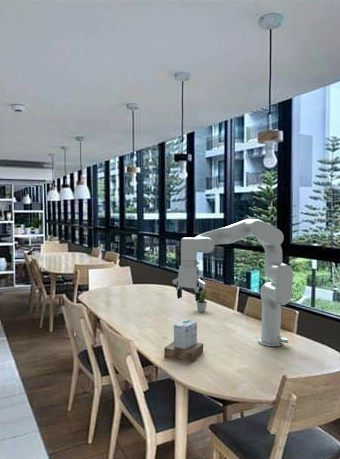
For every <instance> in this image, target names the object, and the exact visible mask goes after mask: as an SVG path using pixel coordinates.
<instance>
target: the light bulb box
mask: <svg viewBox="0 0 340 459" xmlns="http://www.w3.org/2000/svg"><path fill="white" fill-rule="evenodd" d="M197 339H198V322H197V321H195V320H189V319H185V320H182V321H180V322H178V323H174V324H173V341H174V347H176V348H180V349H184V350H185V349H187V348H189V347H191V346H193V345H195V344H197V343H198V340H197Z"/></svg>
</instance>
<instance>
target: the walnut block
mask: <svg viewBox="0 0 340 459" xmlns="http://www.w3.org/2000/svg"><path fill="white" fill-rule="evenodd" d="M163 350H164V353H163V355H164V356H163V357H164V358H165V357H166V358H165V359H171V360H177V361H182V362H185V363H194V362H195V361H196V360H197V359H198V358H199V357H200V356H201V355H202V354H203V353H204V343H202V342H197V344H195V345H193V346H191V347H189V348H187V349H185V350H184V349H180V348H176V347H174V340H172V342H171V343H169V344H168V345H166V346H165V347H164V348H163Z"/></svg>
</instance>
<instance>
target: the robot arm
mask: <svg viewBox="0 0 340 459" xmlns="http://www.w3.org/2000/svg"><path fill="white" fill-rule="evenodd" d="M248 237H255V238H256V240H257V242H258V243H259V244H260V245H261V246H262V247H263V250H264V255H265V256H264V257H265V259H264V275H265V277H266V278H267V279H268V280H270V281H268V282H265V283H263V284H262V285H261V288H260V298H261V330H260V331H261V332H260V333H261V334H260V335H261V336H260V337H259V338H258V339H257V342H258V344H260V345H262V346H265V345H266V346H265V347H270V346H278V347H280V346H279V345H281V346H283V345H284V344H289V338H287V337H283V336H282V335H283V334H282V333H281V323H282V322H281V320H282V316H281V315H282V310H281V309H282V308H281V306H285V305H287V304H289V302H290V301H291V299H292V296H293V285H294V273H293V269H292V268H291V267H290V265H288V264H286V263H283V249H282V246H281V245H282V243H283V242H284V239H285V238H284V233H283V232H282V230H280V229H279V228H277V227H275V226H273V225H271V224H269V223H267V222H265V221H263V220H260V219H259V218H257V219H256V218H246V219H243V220H240V221H238V222H236V223H233V224H230V225H228V226H227V225H226V226H225V227H220V228H217V229H213V230H210V231H206V232H203V233H201V234H197V235H196V236H195V237H193V236H192V237H190V236H189V237H182V238H181V240H180V265H179V269H178V273H177V274H178V275H177V277H176V278H175V279H174V278H173V280H172V284H173V287H174V288H175V290H176V296H177V299H178V300H179V299H181V298H183V290H182V288H188V289H193V290H194V289H195V290H196V291H195V290H194V291H195V292H196V295H194V296H195V297H194V299H195V302H197V301H199V300H200V297H201V291H202V292H203V290H205V289H204V288H205V287H206V283H205V282H204V281H203V280H201V273H200V268H199V264H200V261H198V259H197V258H198V253H202V254H203V253H204V254H209V253H211V252H212V251H213V250H214V248H215V245H216V246H218V245H230V244H233V243H236V242H238V241H241V240H243V239H246V238H248ZM282 344H283V345H282Z"/></svg>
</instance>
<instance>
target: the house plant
mask: <svg viewBox="0 0 340 459" xmlns="http://www.w3.org/2000/svg"><path fill="white" fill-rule="evenodd" d="M208 289H209V287H207V288H205V289H204V291H203V290H202V291H201V292H200V300H199V301H196V308H197V312H199V311H205V312H206V310H207V305H208V301H206V300H209V296H208V294H209V293H210V292H212V291H213V289H212V290H208ZM193 290H194V294H195V295H194V298H195V296H196V290H195V289H194V288H193Z"/></svg>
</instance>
